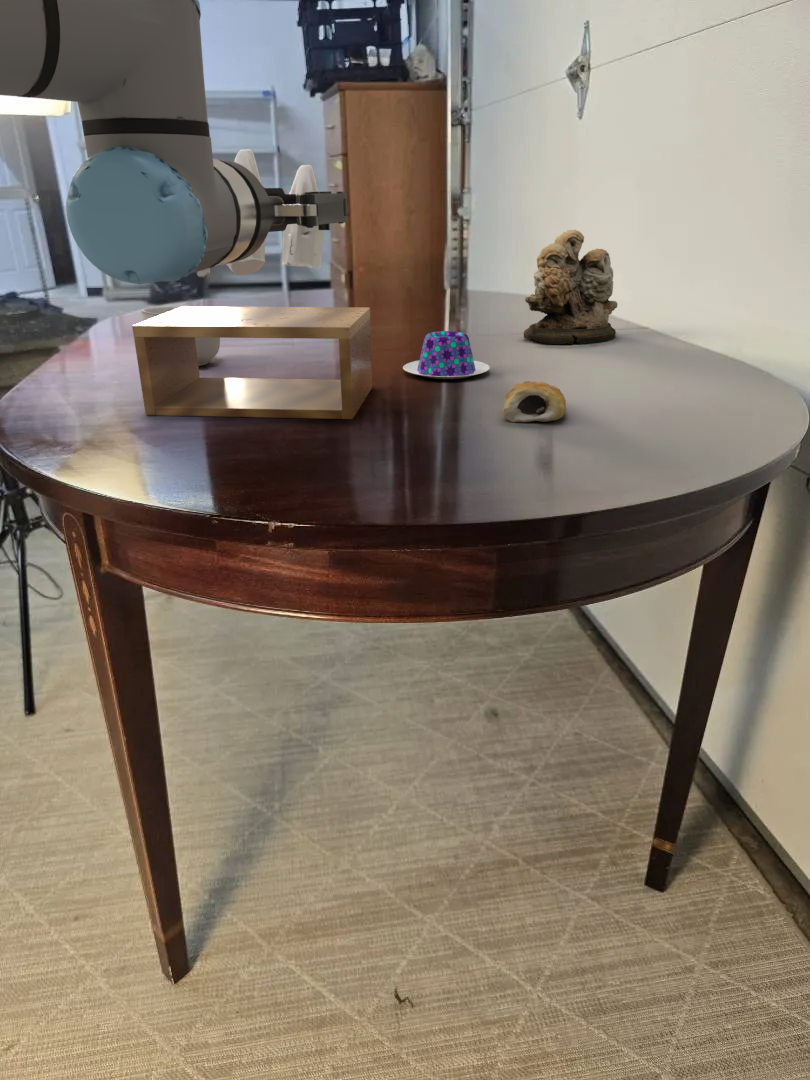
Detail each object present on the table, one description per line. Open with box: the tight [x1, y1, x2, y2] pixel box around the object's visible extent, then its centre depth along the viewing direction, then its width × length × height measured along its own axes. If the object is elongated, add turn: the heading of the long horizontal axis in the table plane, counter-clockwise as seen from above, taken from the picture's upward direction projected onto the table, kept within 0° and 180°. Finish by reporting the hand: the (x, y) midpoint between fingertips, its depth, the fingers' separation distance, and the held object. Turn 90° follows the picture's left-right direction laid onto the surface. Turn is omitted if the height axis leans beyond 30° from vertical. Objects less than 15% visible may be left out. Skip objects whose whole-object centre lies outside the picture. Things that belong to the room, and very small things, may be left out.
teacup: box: [141, 305, 221, 367], centre depth 111 cm, size 14×11×8 cm
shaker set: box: [226, 148, 324, 276], centre depth 75 cm, size 12×4×11 cm, turn 131°
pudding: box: [402, 330, 491, 380], centre depth 106 cm, size 12×12×5 cm
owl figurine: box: [523, 229, 618, 345], centre depth 127 cm, size 18×12×17 cm, turn 120°
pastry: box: [502, 380, 567, 423], centre depth 87 cm, size 9×7×4 cm
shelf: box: [131, 305, 373, 420], centre depth 92 cm, size 24×15×10 cm, turn 84°
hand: (285, 206), depth 79 cm, fingers closed on shaker set, 8 cm apart
